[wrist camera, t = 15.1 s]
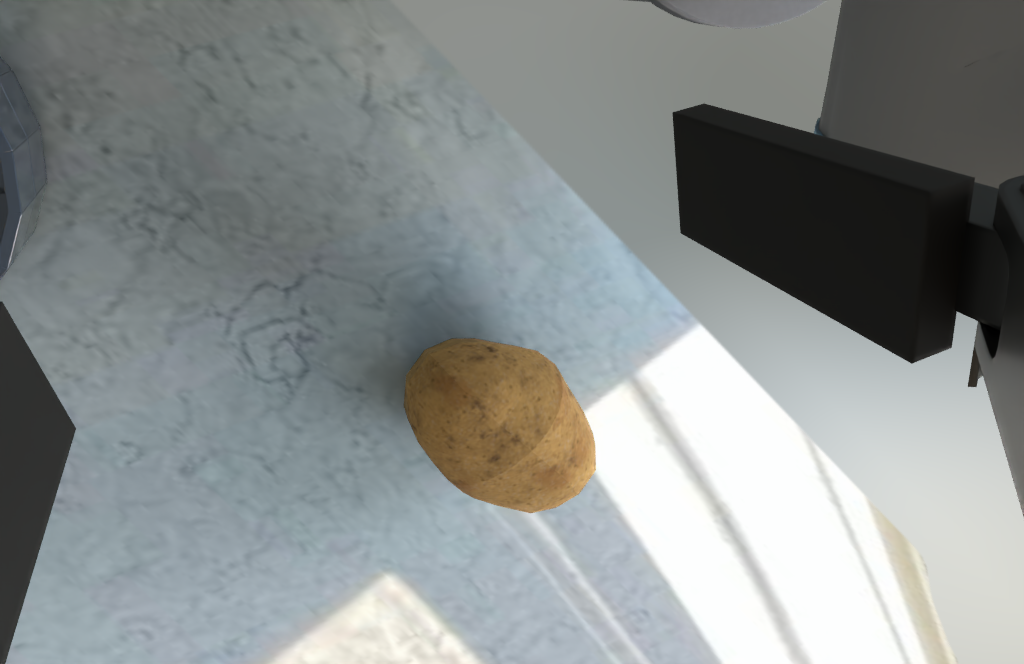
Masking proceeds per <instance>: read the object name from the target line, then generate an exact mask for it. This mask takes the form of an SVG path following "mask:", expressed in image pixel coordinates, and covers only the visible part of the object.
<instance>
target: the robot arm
mask: <svg viewBox="0 0 1024 664" xmlns="http://www.w3.org/2000/svg"><path fill="white" fill-rule="evenodd" d="M673 126H674V141H675V156H676V171H677V185H678V200H679V215H680V230H681V234H683V235H685V236H687V237H688V238H691V239H692V240H694V241H696V242H697V243H699V244H701V245H703V246H704V247H706V248H708V249H710V250H711V251H713V252H715V253H717V254H719V255H720V256H722V257H724V258H726V259H727V260H729V261H731V262H733V263H735V264H736V265H738V266H740V267H742V268H743V269H745V270H747V271H749V272H750V273H752V274H754V275H756V276H758V277H759V278H761V279H763V280H765V281H766V282H768V283H770V284H772V285H773V286H775V287H777V288H779V289H781V290H782V291H784V292H786V293H788V294H790V295H791V296H793V297H795V298H797V299H798V300H800V301H802V302H804V303H805V304H807V305H809V306H811V307H812V308H815V309H816V310H818V311H820V312H821V313H823V314H825V315H827V316H828V317H830V318H832V319H834V320H836V321H837V322H839V323H841V324H843V325H844V326H846V327H848V328H850V329H851V330H853V331H855V332H857V333H859V334H860V335H862V336H864V337H866V338H867V339H869V340H871V341H873V342H874V343H876V344H878V345H880V346H882V347H883V348H885V349H887V350H889V351H891V352H892V353H894V354H896V355H898V356H899V357H901V358H903V359H905V360H907V361H908V362H910V363H914V362H917V361H919V360H921V359H924V358H927V357H929V356H932V355H934V354H937V353H939V352H942V351H944V350H947V349H949V348H951V347H952V341H953V333H954V326H955V319H956V311H957V312H960V313H962V314H964V315H966V316H968V317H971V318H973V319H975V320H977V321H978V325H977V331H976V337H975V344H974V350H973V357H972V363H971V369H970V376H969V382H968V387H976V386H977V381H978V379H979V378H980V377H982V376H983V377H984V380H985V384H986V387H987V391H988V394H989V397H990V401H991V405H992V408H993V412H994V415H995V419H996V422H997V425H998V429H999V432H1000V436H1001V439H1002V443H1003V446H1004V450H1005V453H1006V457H1007V460H1008V463H1009V467H1010V470H1011V474H1012V478H1013V481H1014V484H1015V488H1016V491H1017V495H1018V498H1019V502H1020V505H1021V509H1022V512H1023V516H1024V0H842V3H841V8H840V15H839V20H838V25H837V31H836V37H835V43H834V48H833V54H832V59H831V65H830V71H829V76H828V82H827V87H826V92H825V97H824V102H823V107H822V113H821V117H820V118H818V120H817V123H816V126H815V131H814V133H810V132H806V131H802V130H799V129H795V128H791V127H788V126H784V125H780V124H777V123H773V122H770V121H766V120H762V119H759V118H754V117H751V116H748V115H744V114H740V113H737V112H733V111H729V110H726V109H722V108H718V107H715V106H711V105H707V104H701V105H698V106H694V107H691V108H687V109H683V110H680V111H677V112H673ZM75 430H76V428H75V426H74V424H73V423H72V421H71V419H70V417H69V416H68V414H67V412H66V411H65V409H64V407H63V405H62V404H61V402H60V400H59V399H58V397H57V395H56V393H55V392H54V390H53V388H52V387H51V385H50V383H49V381H48V380H47V378H46V376H45V374H44V373H43V371H42V369H41V368H40V366H39V364H38V362H37V361H36V359H35V357H34V356H33V354H32V352H31V350H30V349H29V347H28V345H27V344H26V342H25V340H24V338H23V337H22V335H21V333H20V331H19V330H18V328H17V326H16V325H15V323H14V321H13V319H12V318H11V316H10V314H9V313H8V311H7V309H6V307H5V306H4V304H3V302H0V664H5V662H6V659H7V656H8V652H9V649H10V646H11V642H12V639H13V636H14V632H15V629H16V626H17V623H18V619H19V616H20V613H21V609H22V606H23V603H24V599H25V596H26V593H27V589H28V586H29V583H30V579H31V576H32V573H33V569H34V566H35V563H36V560H37V556H38V553H39V550H40V546H41V543H42V540H43V536H44V533H45V530H46V526H47V523H48V520H49V516H50V513H51V510H52V506H53V503H54V500H55V496H56V493H57V490H58V487H59V483H60V480H61V477H62V473H63V470H64V467H65V463H66V460H67V457H68V453H69V450H70V447H71V443H72V440H73V437H74V433H75Z"/></svg>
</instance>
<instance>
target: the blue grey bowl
mask: <svg viewBox="0 0 1024 664" xmlns="http://www.w3.org/2000/svg"><path fill="white" fill-rule="evenodd" d="M46 185H47V176H46V168H45V160H44V152H43V144H42V137H41V129H40V125H39V123H38V121H37V119H36V117H35V115H34V113H33V111H32V109H31V107H30V105H29V103H28V101H27V99H26V97H25V95H24V93H23V90H22V88H21V86H20V84H19V82H18V80H17V78H16V76H15V74H14V72H13V71H12V70H11V68H10V67H9V66H8V65H7V63H6V62H5V61H4V60H3V59H2V58H1V57H0V280H1V278H2V277H3V276H4V274H5V273H6V272H7V270H8V269H9V268H10V266H11V265H12V263H13V262H14V260H15V259H16V257H17V256H18V254H19V253H20V252H21V250H22V249H23V247H24V246H25V244H26V243H27V241H28V240H29V238H30V237H31V236H32V234H33V233H34V231H35V228H36V224H37V220H38V217H39V213H40V209H41V205H42V201H43V197H44V193H45V189H46Z"/></svg>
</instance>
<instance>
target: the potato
mask: <svg viewBox="0 0 1024 664" xmlns="http://www.w3.org/2000/svg"><path fill="white" fill-rule="evenodd" d="M404 408H405V411H406V414H407V418H408V420H409V423H410V425H411V427H412V429H413V431H414V434H415V436H416V438H417V440H418V442H419V444H420V445H421V447H422V448H423V449H424V451H425V452H426V453H427V455H428V456H429V458H430V459H431V460H432V462H433V463H434V464H435V465H436V467H437V468H438V469H439V470H440V471H441V472H442V474H443V475H444V476H445V477H446V478H447V479H448V480H449V481H450V482H451V483H452V484H454V485H455V486H456V487H457V488H458V489H460V490H461V491H462V492H463V493H465V494H467V495H469V496H471V497H473V498H475V499H478V500H482V501H485V502H488V503H491V504H494V505H497V506H502V507H506V508H510V509H515V510H519V511H523V512H528V513H534V512H538V511H543V510H547V509H552V508H556V507H557V506H559V505H561V504H563V503H564V502H566V501H568V500H570V499H571V498H573V497H575V496H576V495H578V494H579V493H580V492H581V490H582V489H583V488H584V486H585V485H586V483H587V482H588V481H589V479H590V478H591V476H592V475H593V473H594V472H595V470H596V463H595V442H594V437H593V433H592V430H591V428H590V426H589V424H588V421H587V419H586V417H585V414H584V412H583V410H582V409H581V407H580V405H579V404H578V402H577V400H576V399H575V397H574V395H573V394H572V392H571V390H570V389H569V387H568V385H567V384H566V382H565V381H564V379H563V377H562V375H561V373H560V372H559V370H558V368H557V367H556V365H555V364H554V363H552V362H551V361H550V360H548V359H547V358H546V357H544V356H543V355H542V354H540V353H539V352H538V351H535V350H531V349H526V348H522V347H518V346H513V345H507V344H501V343H495V342H490V341H485V340H480V339H475V338H464V339H449V340H447V341H444V342H442V343H440V344H437V345H435V346H433V347H430V348H428V349H426V350H424V352H423V353H422V354H421V356H420V357H419V358H418V360H417V361H416V362H415V364H414V365H413V366H412V368H411V369H410V371H409V372H408V373H407V375H406V384H405V397H404Z"/></svg>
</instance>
